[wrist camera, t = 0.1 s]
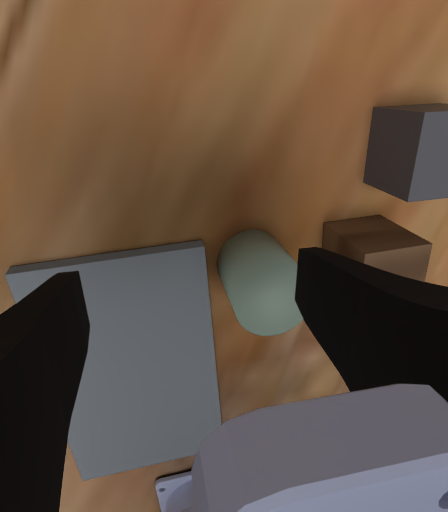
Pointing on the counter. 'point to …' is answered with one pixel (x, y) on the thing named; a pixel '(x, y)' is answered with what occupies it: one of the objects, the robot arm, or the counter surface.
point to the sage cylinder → (260, 282)
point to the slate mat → (139, 356)
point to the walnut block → (379, 245)
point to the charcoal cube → (409, 151)
